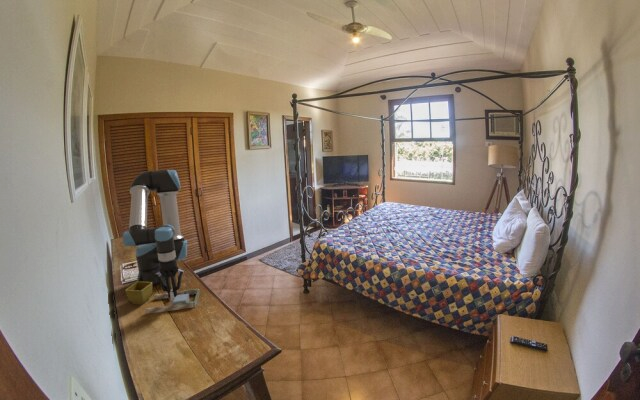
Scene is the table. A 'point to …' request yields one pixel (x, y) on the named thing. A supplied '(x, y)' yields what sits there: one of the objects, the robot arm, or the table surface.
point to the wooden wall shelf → (177, 306)
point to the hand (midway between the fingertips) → (173, 302)
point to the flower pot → (139, 292)
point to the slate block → (181, 299)
